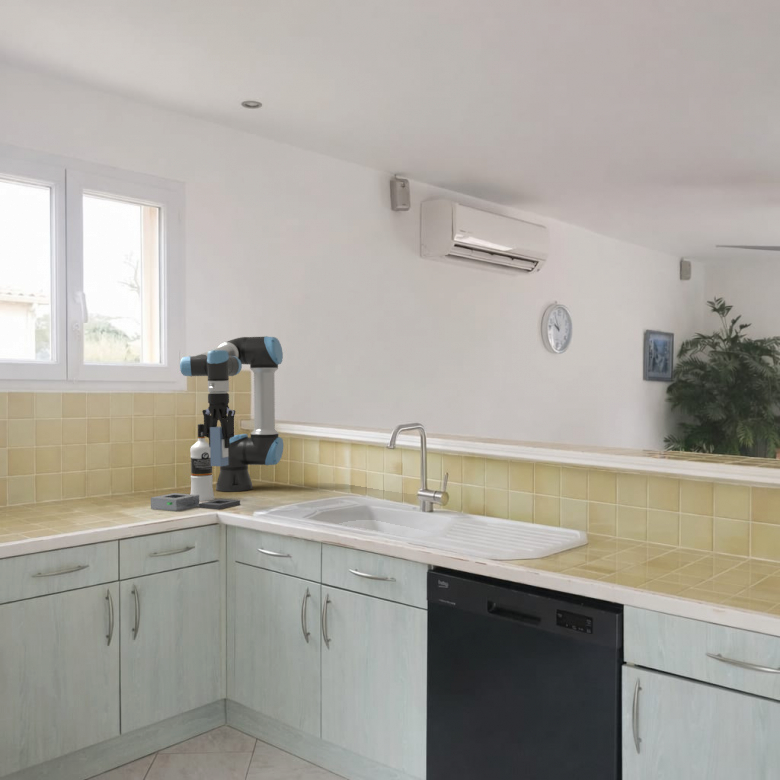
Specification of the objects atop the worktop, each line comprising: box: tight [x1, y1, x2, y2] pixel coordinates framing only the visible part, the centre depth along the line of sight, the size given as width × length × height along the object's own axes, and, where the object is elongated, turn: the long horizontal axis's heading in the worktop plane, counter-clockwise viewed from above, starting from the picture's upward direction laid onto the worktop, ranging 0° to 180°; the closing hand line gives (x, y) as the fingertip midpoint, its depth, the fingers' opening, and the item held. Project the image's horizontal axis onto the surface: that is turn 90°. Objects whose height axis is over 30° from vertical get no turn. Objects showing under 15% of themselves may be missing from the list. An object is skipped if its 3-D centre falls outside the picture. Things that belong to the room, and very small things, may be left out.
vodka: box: [189, 423, 215, 502], centre depth 309 cm, size 9×9×30 cm
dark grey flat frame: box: [198, 498, 241, 511], centre depth 293 cm, size 12×9×2 cm
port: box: [150, 492, 200, 512], centre depth 291 cm, size 13×12×5 cm
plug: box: [210, 425, 228, 467], centre depth 293 cm, size 4×4×14 cm
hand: (219, 456), depth 293 cm, fingers closed on plug, 4 cm apart
